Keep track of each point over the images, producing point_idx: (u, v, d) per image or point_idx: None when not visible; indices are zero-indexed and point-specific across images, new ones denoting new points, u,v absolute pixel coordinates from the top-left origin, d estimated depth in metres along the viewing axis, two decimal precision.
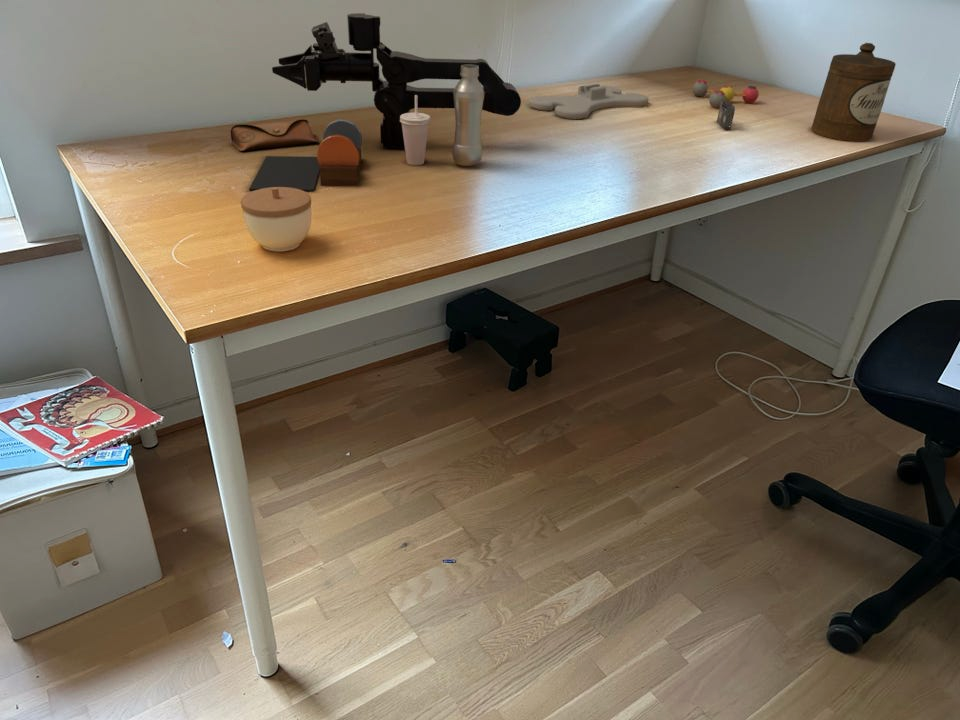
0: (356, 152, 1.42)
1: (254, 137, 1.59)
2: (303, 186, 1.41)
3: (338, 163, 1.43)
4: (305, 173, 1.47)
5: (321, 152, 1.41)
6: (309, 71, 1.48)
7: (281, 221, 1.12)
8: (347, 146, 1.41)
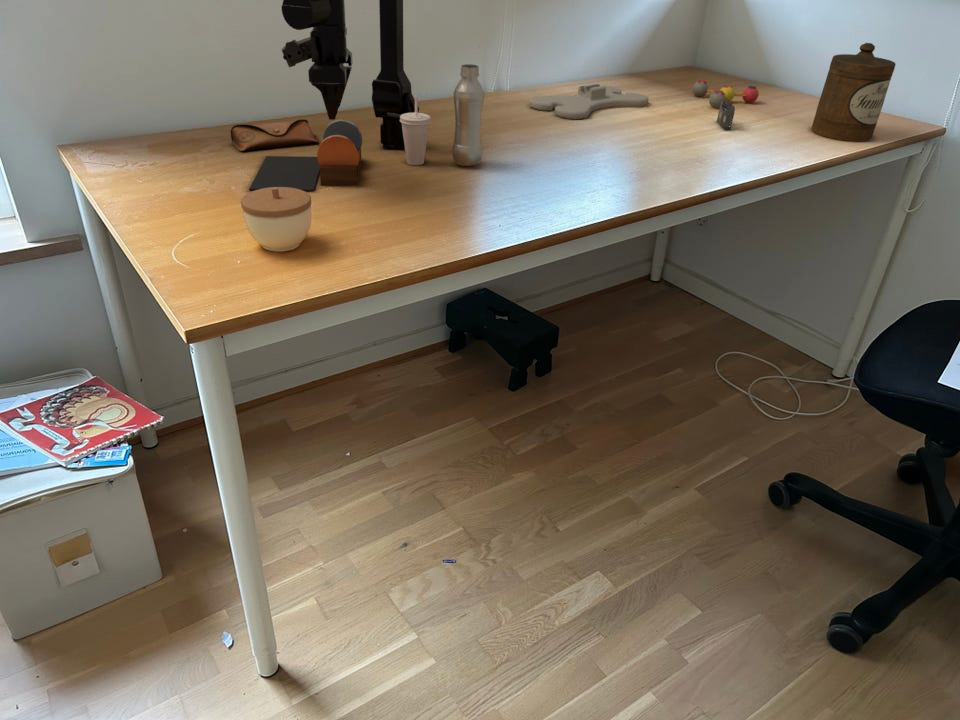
0: (356, 152, 1.42)
1: (254, 137, 1.59)
2: (303, 186, 1.41)
3: (338, 163, 1.43)
4: (305, 173, 1.47)
5: (321, 152, 1.41)
6: (321, 78, 1.26)
7: (281, 221, 1.12)
8: (347, 146, 1.41)
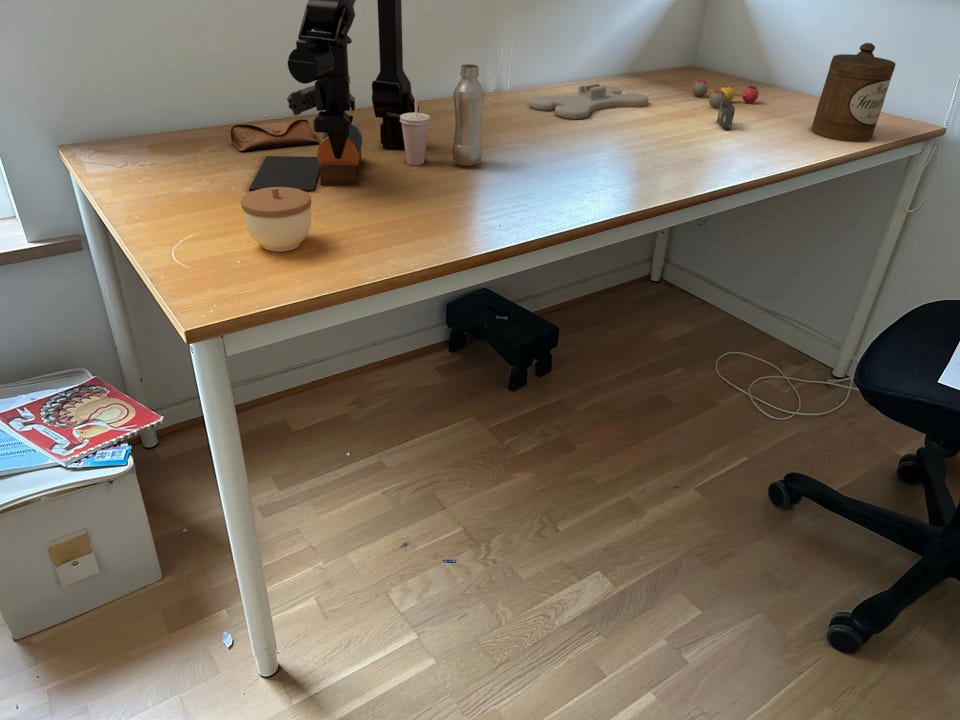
0: (356, 152, 1.42)
1: (254, 137, 1.59)
2: (303, 186, 1.41)
3: (338, 163, 1.43)
4: (305, 173, 1.47)
5: (321, 152, 1.41)
6: (326, 128, 1.30)
7: (281, 221, 1.12)
8: (347, 146, 1.41)
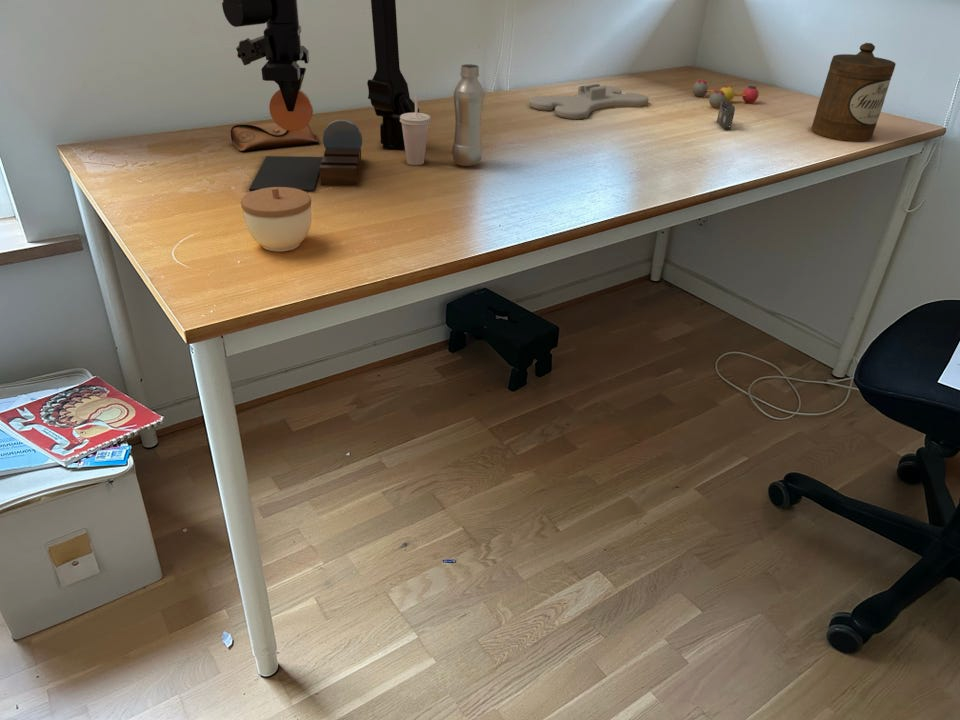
0: (309, 105, 1.40)
1: (254, 137, 1.59)
2: (303, 186, 1.41)
3: (291, 116, 1.40)
4: (305, 173, 1.47)
5: (273, 105, 1.39)
6: (275, 76, 1.28)
7: (281, 221, 1.12)
8: (300, 98, 1.39)
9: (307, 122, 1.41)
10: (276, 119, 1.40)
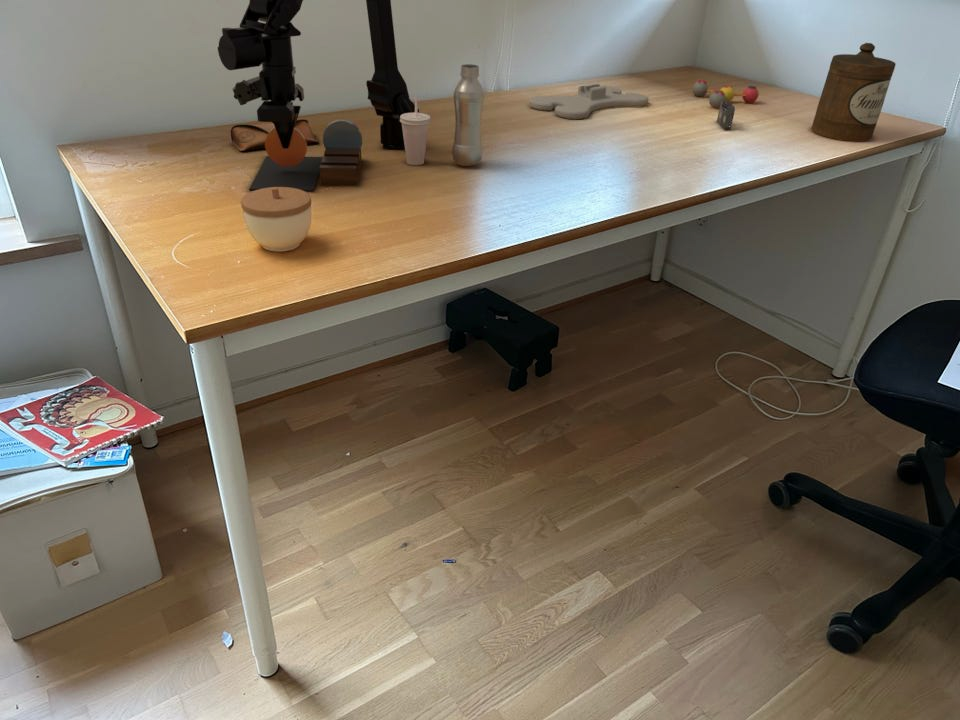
0: (303, 142, 1.44)
1: (254, 137, 1.59)
2: (303, 186, 1.41)
3: (286, 153, 1.45)
4: (305, 173, 1.47)
5: (269, 142, 1.43)
6: (269, 117, 1.32)
7: (281, 221, 1.12)
8: (294, 135, 1.43)
9: (302, 158, 1.46)
10: (272, 155, 1.45)
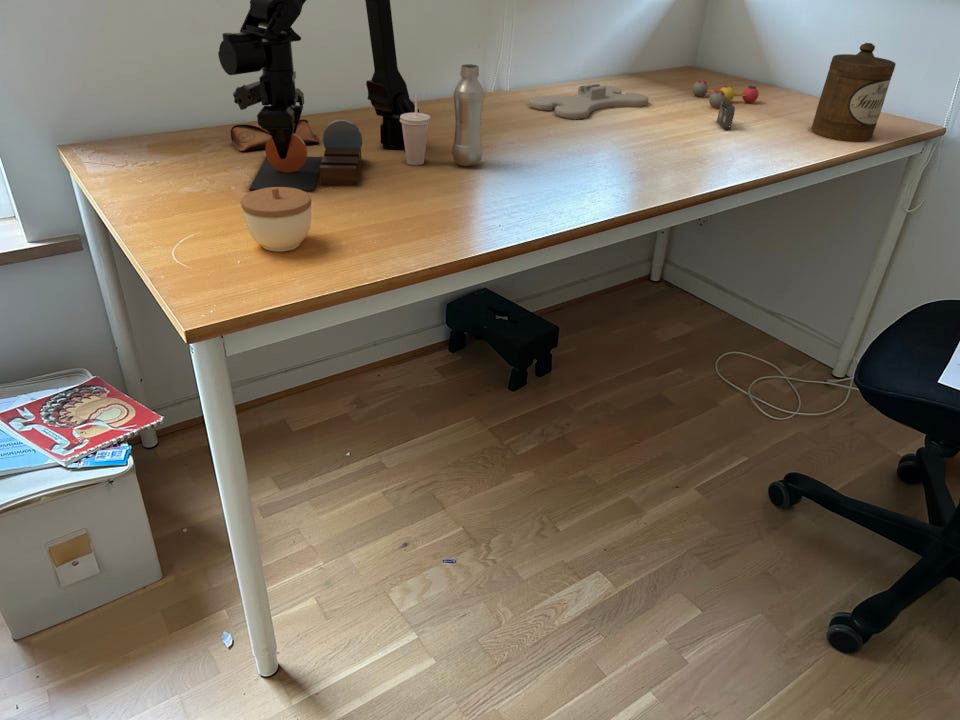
0: (304, 148, 1.45)
1: (254, 137, 1.59)
2: (303, 186, 1.41)
3: (286, 159, 1.45)
4: (305, 173, 1.47)
5: (269, 148, 1.44)
6: (270, 122, 1.33)
7: (281, 221, 1.12)
8: (294, 141, 1.44)
9: (302, 164, 1.46)
10: (272, 162, 1.45)
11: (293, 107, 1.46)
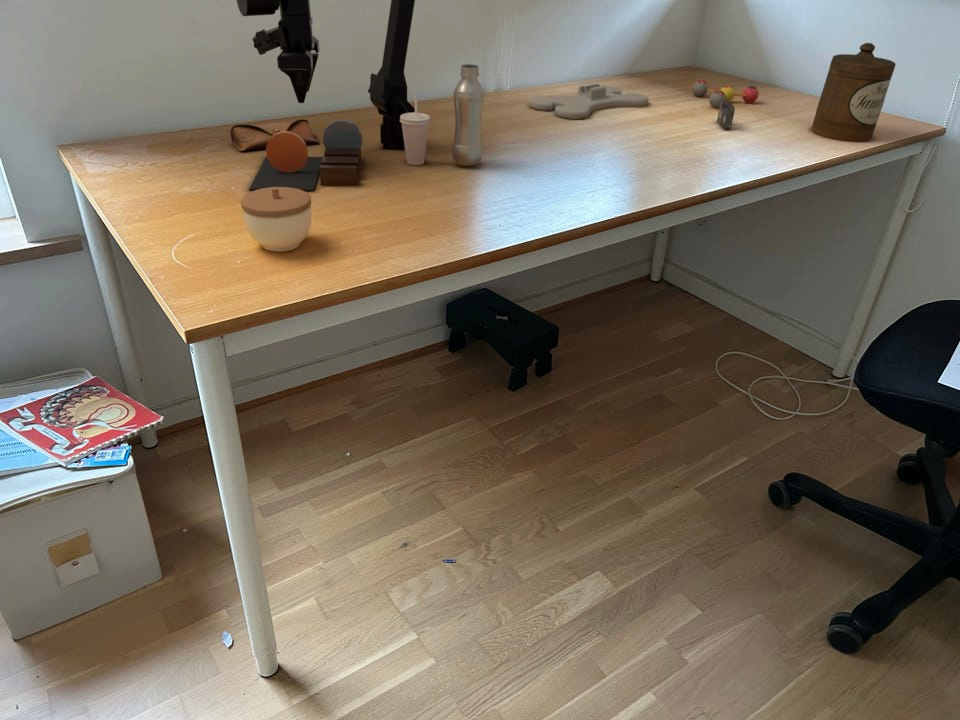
0: (304, 148, 1.45)
1: (254, 137, 1.59)
2: (303, 186, 1.41)
3: (287, 159, 1.45)
4: (305, 173, 1.47)
5: (270, 148, 1.44)
6: (289, 64, 1.37)
7: (281, 221, 1.12)
8: (296, 142, 1.44)
9: (302, 164, 1.46)
10: (272, 161, 1.45)
11: None
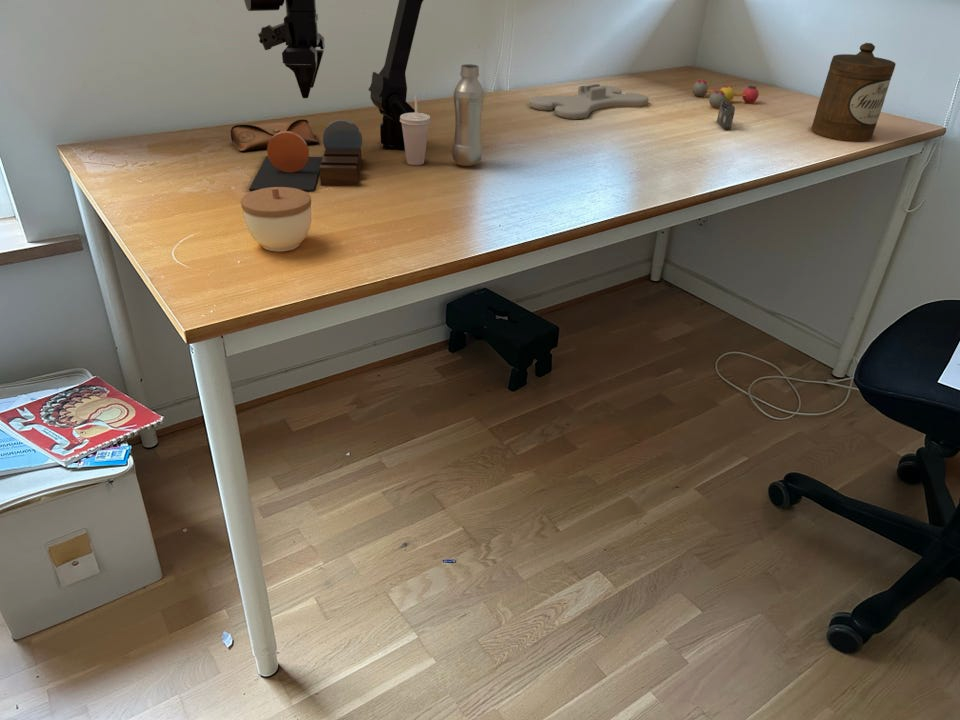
0: (306, 149, 1.45)
1: (254, 137, 1.59)
2: (303, 186, 1.41)
3: (287, 159, 1.45)
4: (305, 173, 1.47)
5: (271, 147, 1.44)
6: (294, 59, 1.39)
7: (281, 221, 1.12)
8: (297, 142, 1.44)
9: (303, 165, 1.46)
10: (273, 161, 1.45)
11: None
